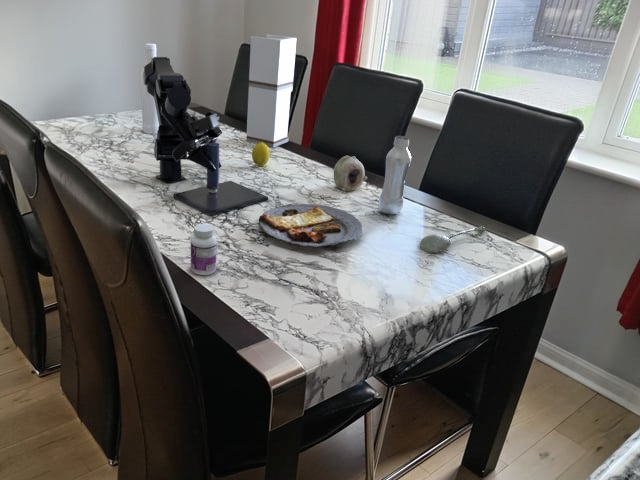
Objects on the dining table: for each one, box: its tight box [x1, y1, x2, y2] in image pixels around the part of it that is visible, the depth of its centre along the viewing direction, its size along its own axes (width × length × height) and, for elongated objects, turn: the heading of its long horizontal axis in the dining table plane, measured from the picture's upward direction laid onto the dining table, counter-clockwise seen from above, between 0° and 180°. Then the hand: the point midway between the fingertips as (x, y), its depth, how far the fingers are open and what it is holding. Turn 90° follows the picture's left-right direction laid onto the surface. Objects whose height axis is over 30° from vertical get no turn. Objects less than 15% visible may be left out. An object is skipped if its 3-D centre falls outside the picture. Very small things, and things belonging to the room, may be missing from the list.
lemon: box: [251, 142, 271, 168], centre depth 180 cm, size 6×6×8 cm
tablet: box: [173, 180, 269, 217], centre depth 156 cm, size 16×20×1 cm
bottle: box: [140, 42, 159, 135], centre depth 205 cm, size 8×8×30 cm
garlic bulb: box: [333, 155, 368, 192], centre depth 168 cm, size 9×8×10 cm
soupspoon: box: [419, 225, 486, 254], centre depth 139 cm, size 22×3×7 cm
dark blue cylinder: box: [206, 142, 221, 193], centre depth 154 cm, size 3×3×13 cm
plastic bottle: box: [377, 135, 412, 215], centre depth 149 cm, size 6×7×20 cm
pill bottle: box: [190, 223, 218, 276], centre depth 117 cm, size 5×5×10 cm
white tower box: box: [245, 34, 298, 149], centre depth 201 cm, size 11×11×35 cm
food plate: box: [258, 202, 363, 248], centre depth 139 cm, size 25×23×4 cm
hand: (217, 168), depth 153 cm, fingers closed on dark blue cylinder, 3 cm apart
